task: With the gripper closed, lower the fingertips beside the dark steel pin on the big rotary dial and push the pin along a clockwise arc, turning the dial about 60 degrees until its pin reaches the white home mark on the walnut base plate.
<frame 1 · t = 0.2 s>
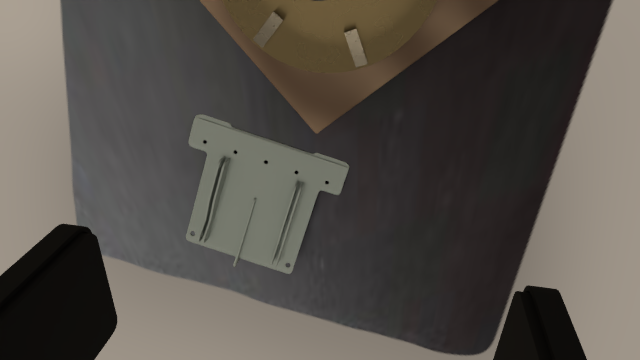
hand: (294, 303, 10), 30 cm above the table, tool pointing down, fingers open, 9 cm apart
metal bracket: (261, 190, 47), on the table
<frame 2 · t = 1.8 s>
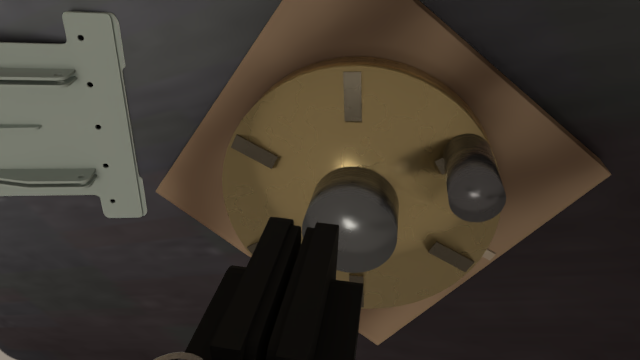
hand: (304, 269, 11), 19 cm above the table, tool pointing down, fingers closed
base plate: (362, 169, 31), on the table
metal bracket: (55, 112, 34), on the table
rotary dial: (352, 215, 26), point 6 cm above the table, hinge at 0.0°
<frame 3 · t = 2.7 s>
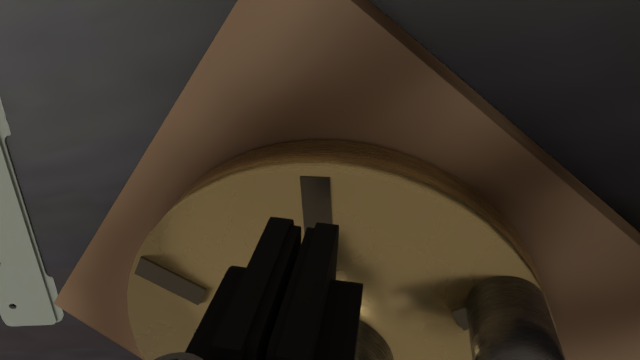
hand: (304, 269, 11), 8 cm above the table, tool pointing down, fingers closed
base plate: (343, 279, 21), on the table
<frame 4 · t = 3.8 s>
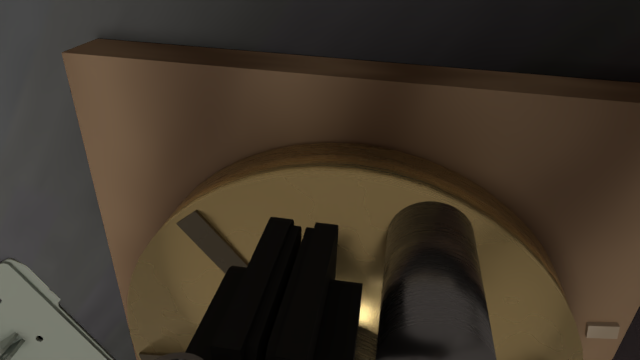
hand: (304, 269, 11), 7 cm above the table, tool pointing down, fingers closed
base plate: (352, 286, 21), on the table
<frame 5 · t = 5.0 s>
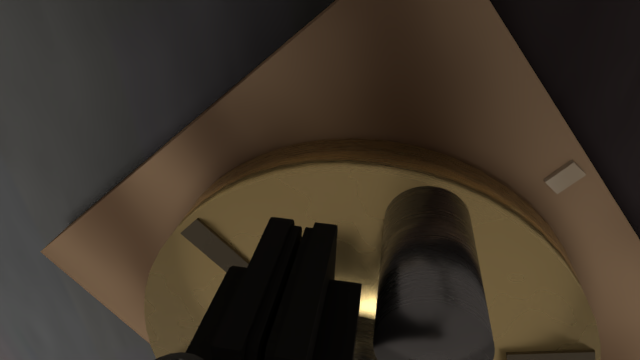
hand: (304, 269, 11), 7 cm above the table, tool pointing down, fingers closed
base plate: (364, 281, 21), on the table
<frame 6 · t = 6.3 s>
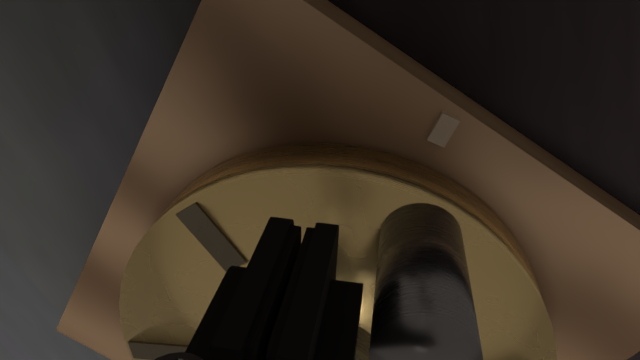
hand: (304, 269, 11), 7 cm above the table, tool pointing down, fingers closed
base plate: (338, 283, 21), on the table
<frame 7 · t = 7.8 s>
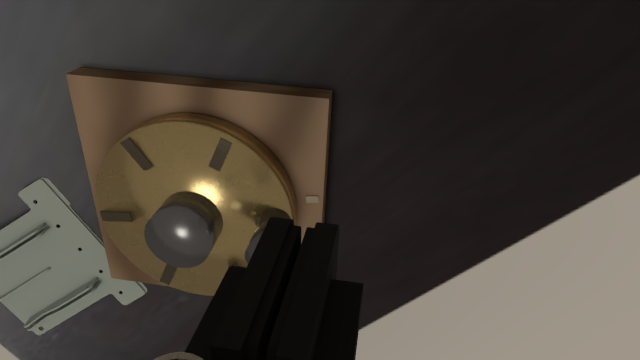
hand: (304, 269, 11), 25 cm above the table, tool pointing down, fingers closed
base plate: (212, 190, 41), on the table
metal bracket: (61, 254, 48), on the table
rotary dial: (186, 226, 36), point 6 cm above the table, hinge at 63.9°
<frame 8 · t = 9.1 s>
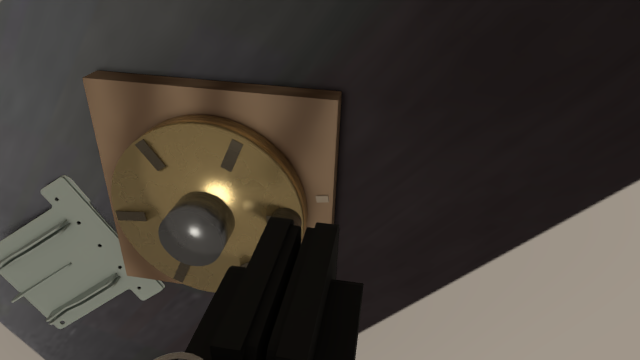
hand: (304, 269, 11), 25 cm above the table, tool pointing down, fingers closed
base plate: (224, 190, 42), on the table
metal bracket: (81, 250, 49), on the table
rotary dial: (199, 226, 37), point 6 cm above the table, hinge at 63.9°
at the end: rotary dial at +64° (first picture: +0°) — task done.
